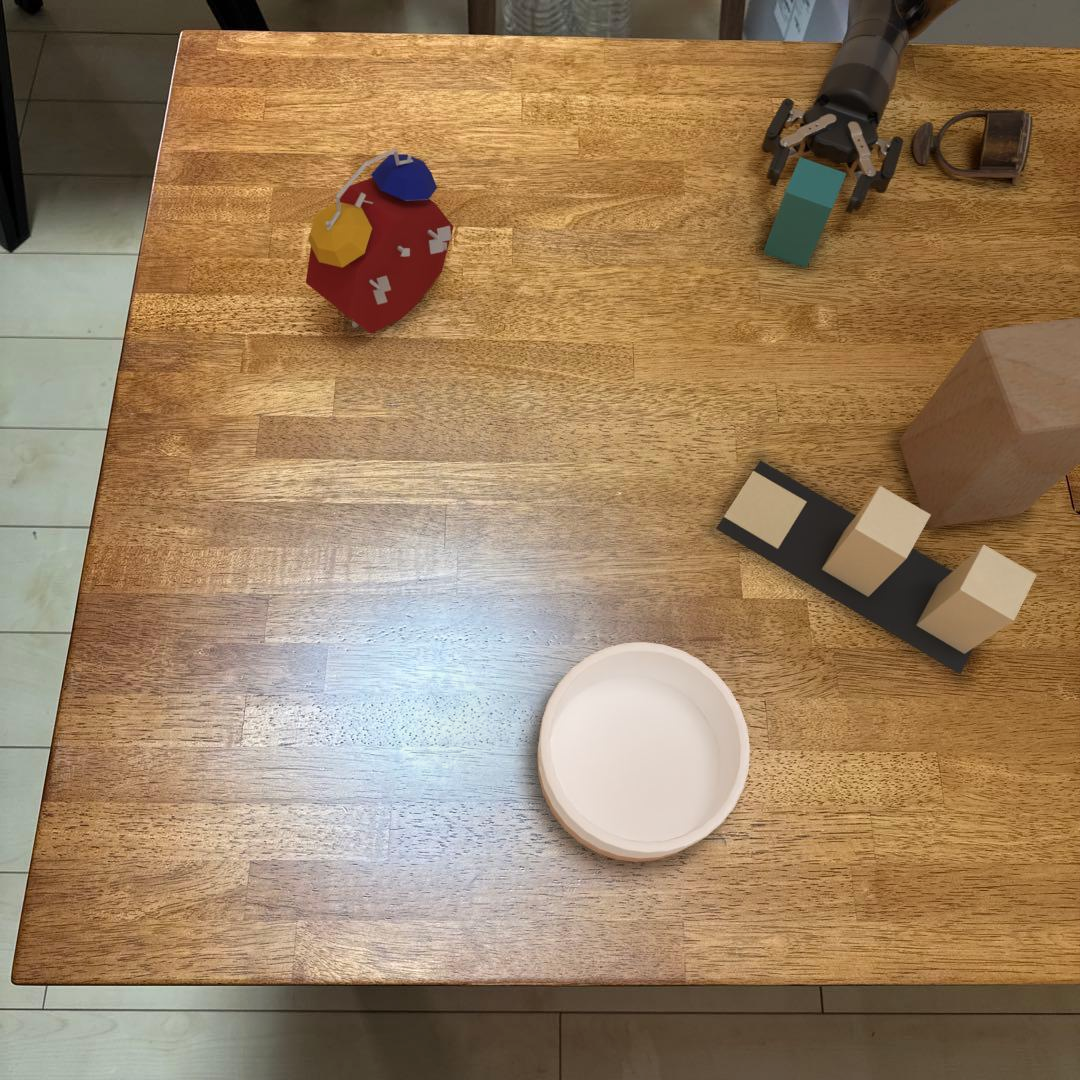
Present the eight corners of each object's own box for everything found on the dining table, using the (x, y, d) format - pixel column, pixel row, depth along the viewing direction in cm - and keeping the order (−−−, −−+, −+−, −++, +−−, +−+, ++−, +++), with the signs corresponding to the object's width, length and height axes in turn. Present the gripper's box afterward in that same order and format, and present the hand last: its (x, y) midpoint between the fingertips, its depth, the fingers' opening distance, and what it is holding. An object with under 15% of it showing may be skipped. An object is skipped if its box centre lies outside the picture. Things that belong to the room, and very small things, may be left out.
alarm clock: (415, 241, 111) (397, 97, 93) (473, 285, 109) (467, 148, 91) (317, 325, 107) (277, 192, 88) (375, 373, 105) (348, 247, 86)
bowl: (743, 691, 93) (764, 666, 85) (713, 884, 87) (733, 876, 79) (559, 648, 94) (564, 620, 86) (516, 836, 88) (517, 824, 80)
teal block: (818, 237, 113) (846, 173, 104) (805, 270, 111) (832, 208, 102) (776, 222, 114) (800, 156, 105) (762, 255, 112) (785, 191, 103)
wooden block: (1021, 516, 101) (1137, 416, 82) (925, 530, 100) (1020, 432, 81) (988, 427, 104) (1092, 313, 86) (895, 440, 104) (980, 327, 85)
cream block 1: (891, 556, 98) (931, 514, 89) (868, 597, 96) (906, 558, 87) (845, 529, 99) (880, 485, 90) (821, 569, 97) (854, 528, 88)
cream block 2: (986, 611, 96) (1037, 574, 87) (964, 654, 95) (1014, 620, 85) (938, 583, 97) (983, 544, 88) (915, 625, 96) (959, 589, 86)
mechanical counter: (1023, 185, 110) (1068, 113, 111) (920, 124, 111) (966, 54, 112) (994, 216, 117) (1037, 149, 118) (898, 159, 118) (942, 93, 119)
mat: (997, 599, 97) (999, 597, 97) (958, 675, 94) (960, 674, 94) (759, 462, 102) (760, 459, 102) (715, 530, 99) (716, 528, 99)
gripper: (804, 41, 111) (756, 145, 105) (930, 83, 109) (889, 192, 104) (787, 96, 118) (741, 196, 112) (905, 136, 116) (865, 240, 110)
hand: (812, 194), depth 108 cm, fingers open, 8 cm apart
